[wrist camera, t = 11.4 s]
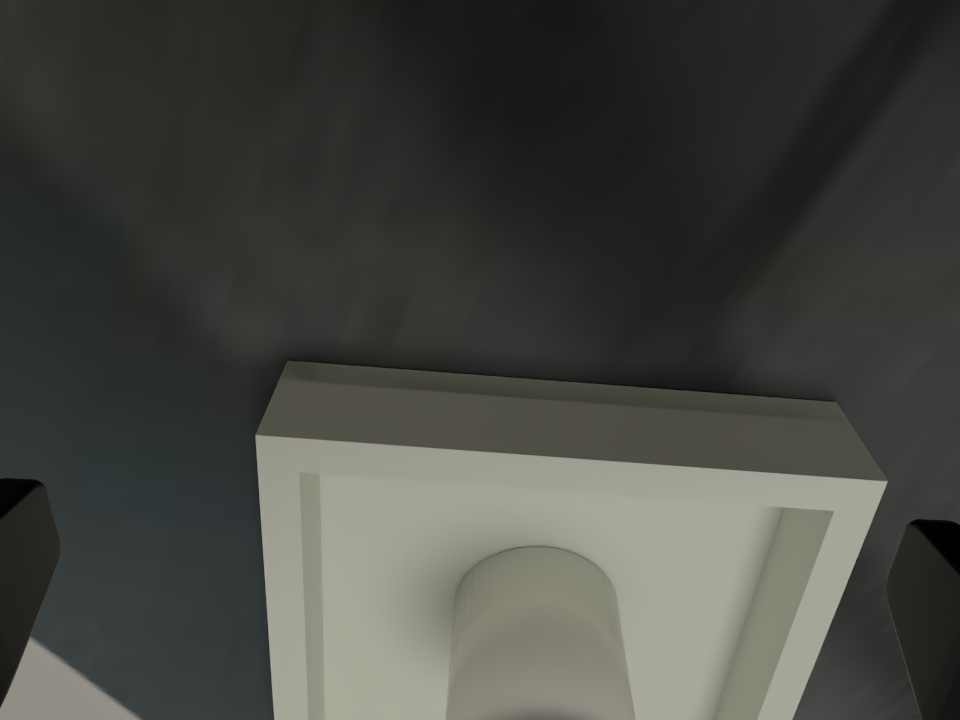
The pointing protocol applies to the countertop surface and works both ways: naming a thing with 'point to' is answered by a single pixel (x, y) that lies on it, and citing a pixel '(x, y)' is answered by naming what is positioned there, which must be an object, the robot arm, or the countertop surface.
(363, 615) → the sage tray
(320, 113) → the countertop surface
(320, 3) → the countertop surface
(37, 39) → the countertop surface
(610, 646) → the cylinder
